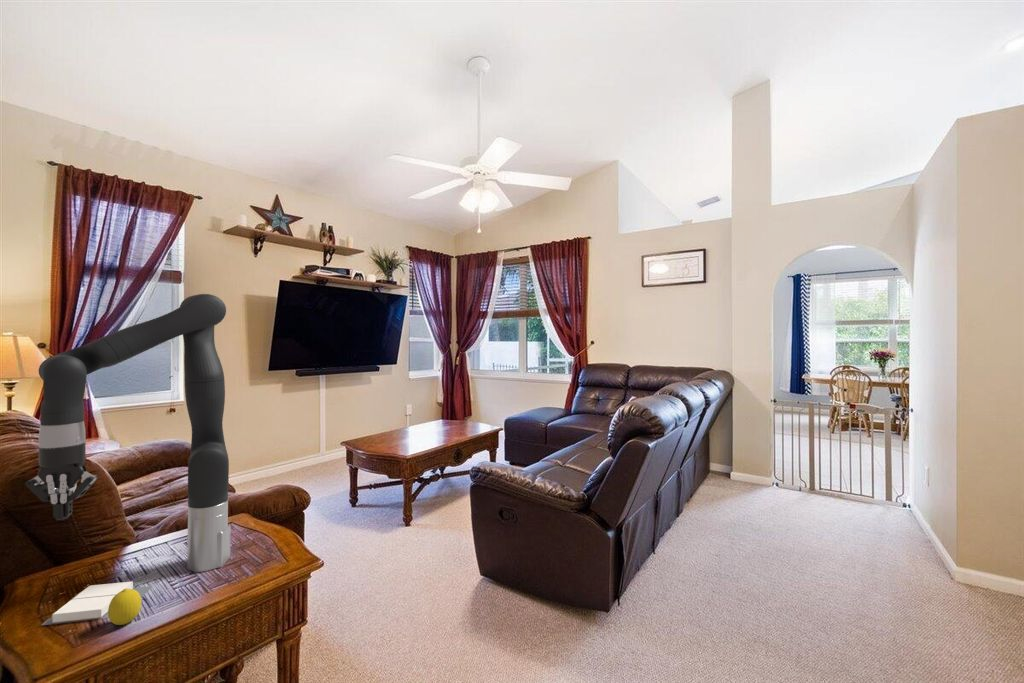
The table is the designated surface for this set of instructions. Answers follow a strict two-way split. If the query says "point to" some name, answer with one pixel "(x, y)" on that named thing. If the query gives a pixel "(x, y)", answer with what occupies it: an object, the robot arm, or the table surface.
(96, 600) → the pink flat piece
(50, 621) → the slate mat
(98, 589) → the white flat block
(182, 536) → the table surface
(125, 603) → the lemon
